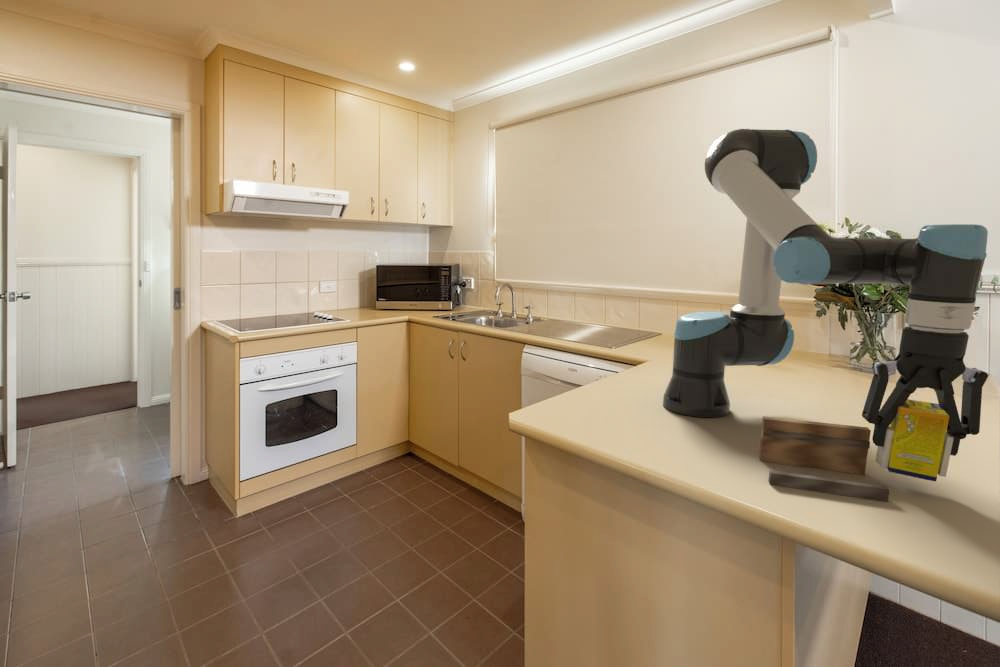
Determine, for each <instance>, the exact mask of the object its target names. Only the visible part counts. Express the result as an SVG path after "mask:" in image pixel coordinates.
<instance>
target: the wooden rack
mask: <svg viewBox="0 0 1000 667" xmlns="http://www.w3.org/2000/svg"><path fill="white" fill-rule="evenodd" d="M871 431H872V430H871V429H870V428H869V427H868V426H866V427H865V426H860V425H859V426H857V425H850V424H849V425H848V424H838V423H830V422H821V421H820V422H817V421H810V420H800V419H790V418H781V417H772V416H771V417H770V416H762V422H761V431H760V432H761V433H760V441H759V453H758V459H759V461H761V462H766V463H767V462H768V463H774V464H775V463H776V464H781V465H782V464H783V465H790V466H798V467H804V468H805V467H806V468H811V469H819V470H828V471H835V472H842V473H848V472H849V474H855V473H856V475H863V476H865V474H866V467H867V460H868V452H869V449H870V446H871V442H870V441H871V440H870V438H871ZM768 484H769V485H772V486H778V487H785V488H793V489H799V490H805V491H813V492H819V493H825V494H831V495H832V494H833V495H838V496H845V497H846V496H847V497H851V498H852V497H853V498H857V499H858V498H859V499H867V500H872V501H880V502H886V503H887V502H889V498H890V497H889V496H890V491H891V490H890V488H889V487H888V486H887V485H882V484H881V485H880V484H874V483H873V484H872V483H866V482H861V481H860V482H859V481H852V480H845V479H838V478H832V477H831V478H830V477H824V476H823V477H822V476H817V475H816V476H815V475H809V474H802V473H795V472H794V473H793V472H788V471H779V470H773V469H769V473H768Z"/></svg>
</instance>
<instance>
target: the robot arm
mask: <svg viewBox="0 0 1000 667" xmlns="http://www.w3.org/2000/svg"><path fill="white" fill-rule="evenodd" d="M817 162H818V150H817V145H816V144H815V141H814V140H813V138H811V137H810V135H808V134H807V133H805V132H803V131H798V130H797V131H796V130H795V131H794V130H791V129H756V128H755V129H750V128H739V129H734V130H731V131H729V132H726V133H724V134H723V135H721V136H720V137H718V138H717V139H716V140H715V141H714V142H713V143H712V145H710V147H709V149H708V151H707V152H706V156H705V159H704V173H705V175H706V178H707V180H708V182H709V183H710V185H711V186H712V187H713V189H715V190H716V191H717V192H719V193H721V194H726V196H728V197H729V199H730V200H731V201H732V202H733V203H734V205H736V206H737V208H738V209H739V211H741V213H742V214H743V215H744V216H745V217H746V222H745V225H746V226H745V233H744V244H743V254H742V262H741V274H740V280H739V289H738V290H739V292H738V301H737V302H736V304H734V306H732V307H731V308H730V310H729V311H730V313H729V314H728V313H726V312H723V311H699V312H691V313H688V314H687V313H686V314H684V315H682V316H680V317H678V319H677V320H676V324H675V329H674V334H673V337H674V341H673V343H674V344H673V357H672V375H671V377H670V379H669V382H668V384H667V387H666V389H665V392H664V393H663V399H662V400H663V401H662V405H663V407H664V408H666V409H667V410H668V411H671V412H673V413H677V414H680V415H685V416H690V417H698V418H719V417H726V416H727V415H729V414H730V408H731V401H730V399H729V398H730V397H729V395H728V391H727V386H726V383H725V372H726V370H725V369H726V367H727V366H729V367H731V366H733V367H734V366H735V367H736V366H738V367H739V366H740V367H741V366H757V367H762V366H767V365H775V364H779V363H781V362H782V361H783V360H785V359H786V358H787V357H788V355H789V354H790V353H791V351H792V349H793V345H794V342H795V331H794V329H792V327H793V325H792V324H791V322H790V321H789V320H788V319H786V318H785V314H786V312H785V311H784V309H782V307H781V306H780V296H781V287H782V281H783V282H785V283H788V284H799V285H803V286H804V285H805V286H806V285H823V284H824V285H828V284H830V285H831V284H832V285H833V284H839V285H840V284H845V285H846V284H848V285H849V284H852V285H853V284H862V285H863V284H865V285H866V284H875V285H877V284H882V285H896V286H906V287H909V290H908V295H907V296H908V297H907V302H906V303H907V304H906V309H905V313H904V320H903V323H905V324H906V325H907V326H905V327H903V328H902V331H901V338H900V342H899V343H900V344H899V350H898V354H897V356H896V357H895V358H894V360H890V361H889V360H888V361H879V360H874V361H873V362H872V370H873V371H872V372H873V377H872V379H871V383H870V387H869V389H868V391H867V392H868V393H867V396H866V400H865V403H864V407H863V409H862V412H861V416H862V418H863V419H865V421H866V422H868V423H869V424H873V425H874V426H873V427H874V428H873V434H872V443H873V444H874V446H876V447H877V449H876V454H875V455H876V456H875V462H876V463H877V464H878V466H879V467H880V468H881V469H886V470H888V463H889V457H890V452H891V446H892V440H893V435H894V430H893V429H892V428H891V427H890V425H891V423H892V421H893V420H894V418H895V417H896V415H897V410H898V407H899V406H903V405H904V403H905V402H906V400H907V399H909V398H910V396H911V395H912V394H914V393H916V391H917V389H925V388H928V389H932V390H934V392H935V395H936V398H937V402H938V403H937V404H939V406H940V407H942V408H943V409H944V410H945V412H946V413H947V414H948V415H949V421H948V426H947V431H946V435H945V440H944V445H943V450H942V455H941V460H940V465H939V469H938V474H937V476H939V477H944V478H946V477H947V473H948V467H949V463H950V460H951V459H950V458H951V456H954V457H955V456H957V454H958V452H959V448H960V442H961V440H965V439H966V438H967V435H973V436H975V435H978V434H980V429H981V428H980V427H981V412H982V411H981V410H982V400H983V399H982V396H983V387H984V385H985V383H986V382H987V380H988V377H989V374H988V372H986V371H984V370H982V369H981V370H980V369H979V368H976V367H972V368H970V367H967V366H966V364H965V363H964V357H965V355H966V352H967V346H968V342H969V338H970V337H969V336H970V335H969V334H968V333H967V332H966V331H965V330H969V329H970V328H971V326H972V321H973V317H974V310H975V307H976V306H975V305H976V300H977V296H976V295H977V293H978V292H977V291H978V287H979V283H980V280H981V275H982V271H983V268H984V264H985V261H986V260H985V259H986V258H987V245H988V244H987V243H988V234H989V231H988V228H986V227H985V226H983V225H981V224H971V223H970V224H969V223H968V224H966V223H965V224H959V223H958V224H957V223H956V224H954V223H953V224H931V225H930V224H928V225H924V226H922V227H921V228H920V229H919V232H918V233H919V234H918V236H917V237H916V238H885V237H868V238H867V237H866V238H863V237H862V238H861V237H859V238H858V237H857V238H856V237H855V238H852V237H833V236H831V235H830V234H828V233H827V231H825V230H824V229H823V227H821V226H820V225H819V224H818V223H817V222H816V221H815V220H814V219H813V218H812V217H811V216H810V215H809V214H808V213H807V212H806V211H804V210H803V208H802V207H800V205H799V204H798V203H796V201H795V200H793V199H794V197H796V196H797V195H798V194H800V192H801V186H802V185H804V184H805V183H806V182H808V181H809V180H810V179H811V177H812V174H813V173H815V170H816V166H817ZM894 370H897V372H898V374H899V375H900V376H899V378H898V379H897V381H896V382H895V387H894V388H893V389H892V391H891V393H890V394H889V396H888V397H887V398H886V400H885V402H884V404H883V405H882V403H883V400H884V397H885V393H886V391H887V387H888V384H889V378H890V376H892V375H893V372H894ZM960 376H961V379H962V380H963V383H962V393H961V394H962V395H961V407H960V408H961V410H960V413H961V414H960V415H959V411H958V408H957V404H956V399H955V391H954V386H953V383H952V382H954V381H955V380H956V379H957V378H959V377H960ZM881 406H882V407H881Z"/></svg>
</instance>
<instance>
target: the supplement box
mask: <svg viewBox="0 0 1000 667" xmlns="http://www.w3.org/2000/svg"><path fill="white" fill-rule="evenodd" d="M948 421H949V415H948V414H947V413H946V412H945V410H944V409H943V408H942V407H940V406H939V403H934V402H927V401H923V400H922V401H921V400H915V399H909V398H908V399H907V400H906V402H905V403H904V405H903V406H899V407H898V410H897V415H896V417H895V418H894V420H893V421H892V423H891V424H890V426H889V427H891V428H892V429H893V430H894V435H893V440H892V446H891V452H890V457H889V463H888V469H887V470H888V472H889V473H892V474H897V475H902V476H906V477H911V478H912V477H913V478H916V479H921V480H926V481H931V482H937V479H938V469H939V465H940V460H941V455H942V450H943V445H944V440H945V435H946V432H947V426H948Z"/></svg>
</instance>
